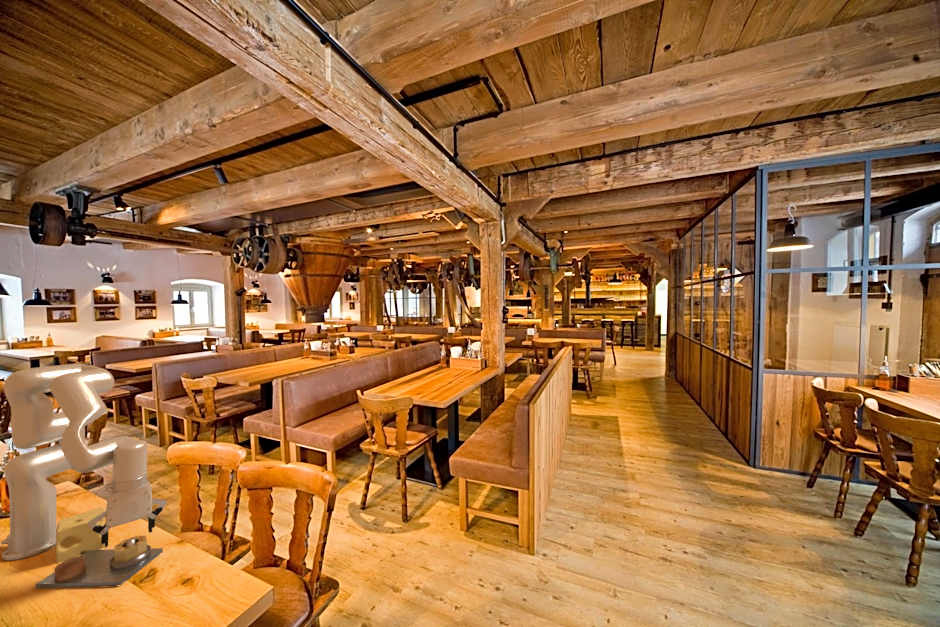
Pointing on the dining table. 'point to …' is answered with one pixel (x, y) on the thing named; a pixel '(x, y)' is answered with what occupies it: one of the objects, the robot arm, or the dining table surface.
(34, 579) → the dining table surface
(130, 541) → the hub
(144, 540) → the collar
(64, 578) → the brown rounded dome
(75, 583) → the plate
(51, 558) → the dining table surface
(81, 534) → the cheese
